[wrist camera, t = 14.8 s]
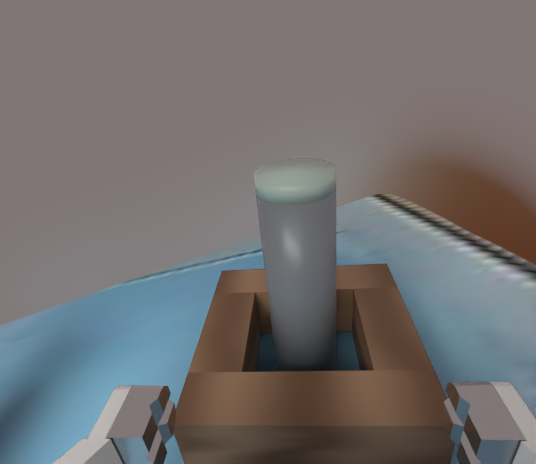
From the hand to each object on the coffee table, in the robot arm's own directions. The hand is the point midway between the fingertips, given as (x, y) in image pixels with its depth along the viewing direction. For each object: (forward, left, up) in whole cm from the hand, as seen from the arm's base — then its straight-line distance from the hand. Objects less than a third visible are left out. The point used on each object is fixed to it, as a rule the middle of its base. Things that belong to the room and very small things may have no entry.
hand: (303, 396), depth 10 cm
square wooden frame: (0, +10, -10) cm, 14 cm away
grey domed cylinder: (0, +10, -10) cm, 14 cm away
